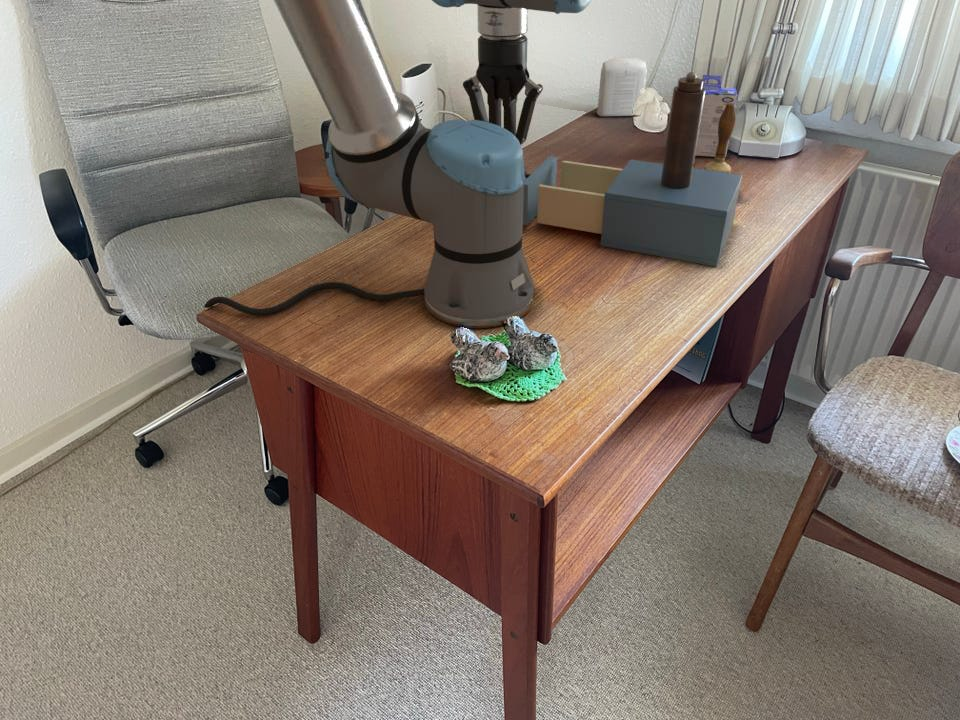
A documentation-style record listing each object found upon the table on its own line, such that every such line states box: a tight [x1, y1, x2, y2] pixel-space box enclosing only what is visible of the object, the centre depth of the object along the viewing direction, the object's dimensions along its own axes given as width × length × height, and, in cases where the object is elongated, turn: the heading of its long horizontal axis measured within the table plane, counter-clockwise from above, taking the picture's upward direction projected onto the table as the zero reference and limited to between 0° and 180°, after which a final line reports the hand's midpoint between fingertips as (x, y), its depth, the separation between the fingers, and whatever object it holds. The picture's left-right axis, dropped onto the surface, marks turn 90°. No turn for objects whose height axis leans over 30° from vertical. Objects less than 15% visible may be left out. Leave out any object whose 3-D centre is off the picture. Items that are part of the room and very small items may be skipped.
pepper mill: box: [661, 71, 706, 189], centre depth 106 cm, size 4×4×16 cm
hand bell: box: [703, 103, 737, 173], centre depth 124 cm, size 8×8×16 cm
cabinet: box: [599, 159, 743, 267], centre depth 113 cm, size 18×15×9 cm
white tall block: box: [596, 56, 648, 117], centre depth 163 cm, size 10×4×12 cm, turn 93°
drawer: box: [523, 155, 624, 235], centre depth 119 cm, size 21×14×7 cm, turn 66°
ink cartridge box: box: [695, 74, 738, 158], centre depth 142 cm, size 10×6×14 cm, turn 78°
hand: (502, 184), depth 123 cm, fingers closed
